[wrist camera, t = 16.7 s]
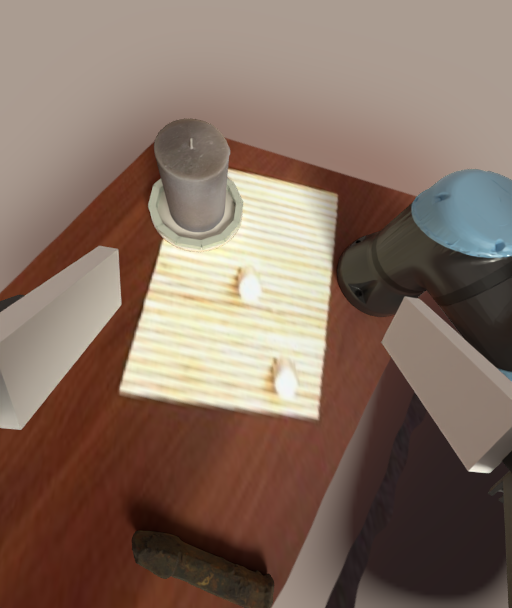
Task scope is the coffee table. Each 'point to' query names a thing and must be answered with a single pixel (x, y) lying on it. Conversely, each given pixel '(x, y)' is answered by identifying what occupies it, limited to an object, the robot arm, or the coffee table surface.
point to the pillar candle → (193, 172)
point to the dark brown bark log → (202, 569)
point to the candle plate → (196, 239)
